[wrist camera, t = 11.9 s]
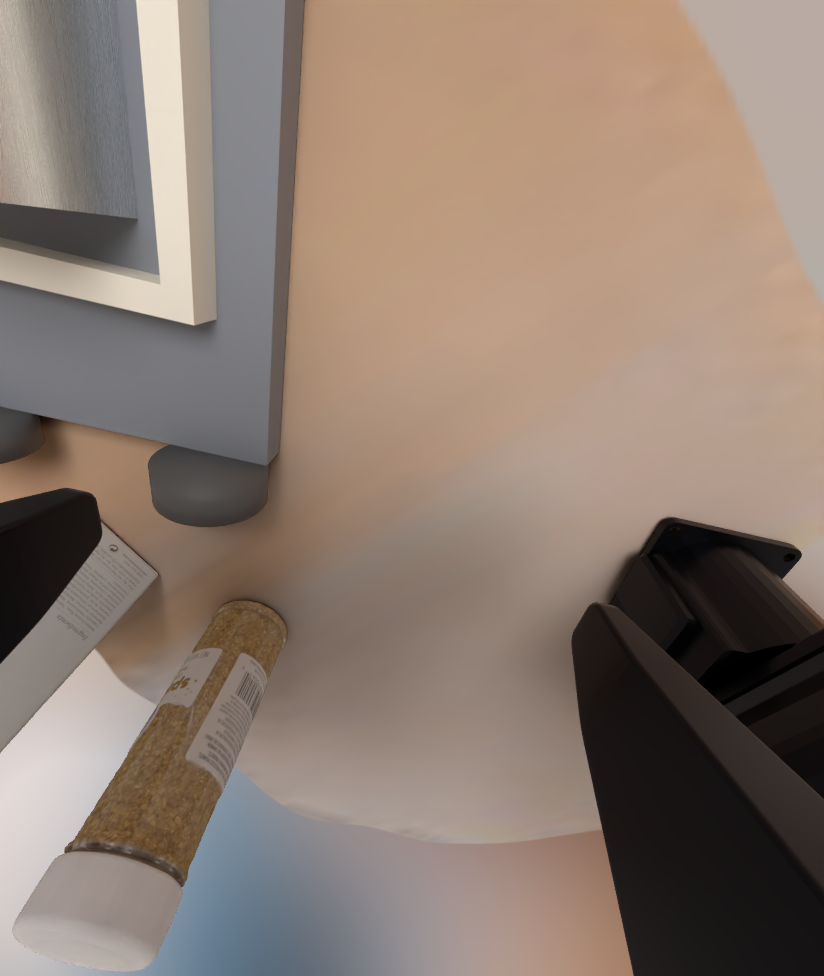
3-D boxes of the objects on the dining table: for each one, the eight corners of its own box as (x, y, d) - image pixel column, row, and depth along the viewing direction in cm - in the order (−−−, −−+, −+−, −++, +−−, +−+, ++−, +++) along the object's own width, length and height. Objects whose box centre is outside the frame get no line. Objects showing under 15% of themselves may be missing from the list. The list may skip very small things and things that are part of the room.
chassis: (358, -762, 7) (254, -1938, 3) (281, 482, 20) (241, 537, 16) (-530, -1065, 7) (-1896, -2911, 3) (-26, 413, 19) (-145, 453, 15)
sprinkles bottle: (213, 590, 24) (-19, 920, 12) (292, 605, 24) (139, 947, 12) (217, 643, 26) (27, 964, 14) (289, 656, 26) (160, 986, 14)
